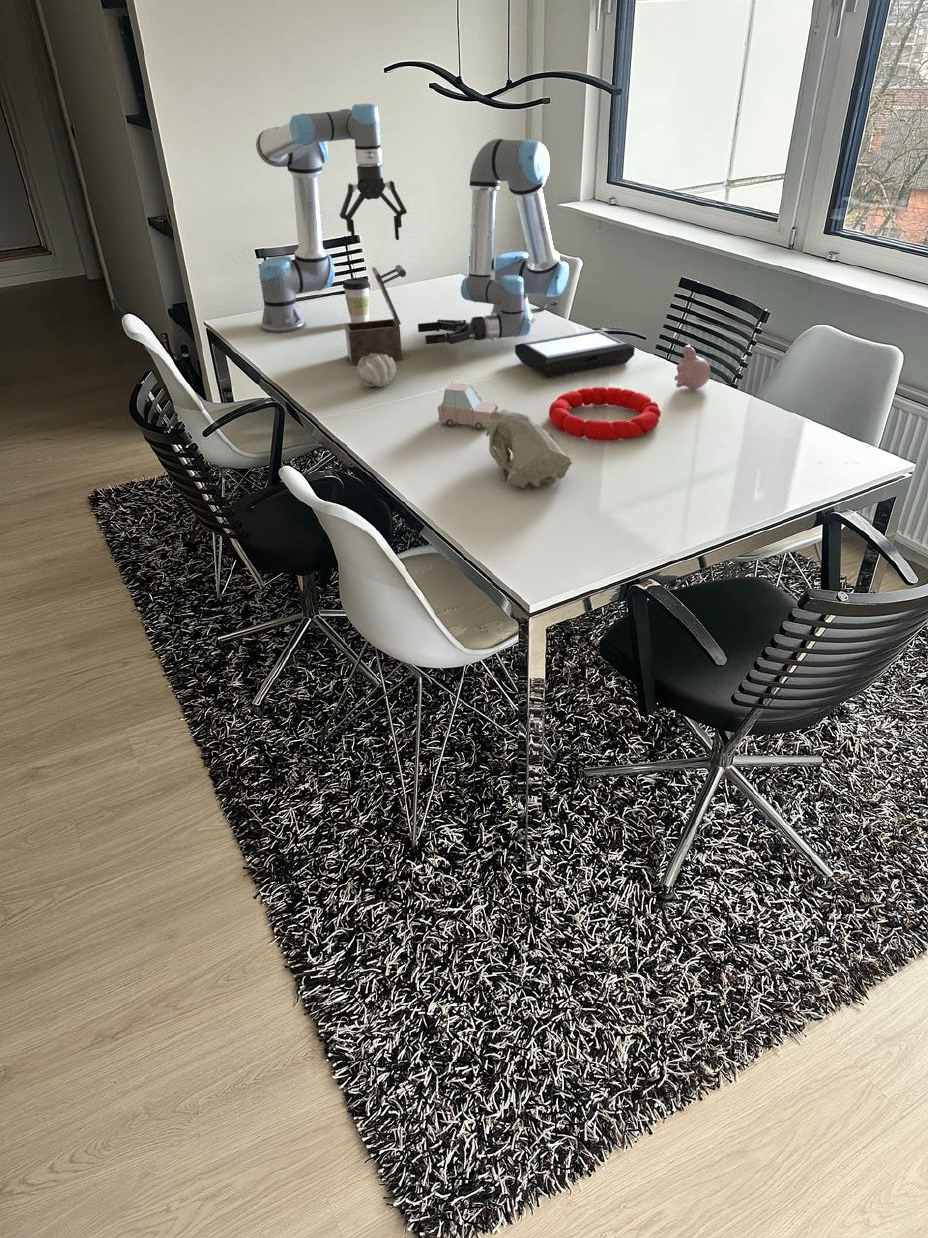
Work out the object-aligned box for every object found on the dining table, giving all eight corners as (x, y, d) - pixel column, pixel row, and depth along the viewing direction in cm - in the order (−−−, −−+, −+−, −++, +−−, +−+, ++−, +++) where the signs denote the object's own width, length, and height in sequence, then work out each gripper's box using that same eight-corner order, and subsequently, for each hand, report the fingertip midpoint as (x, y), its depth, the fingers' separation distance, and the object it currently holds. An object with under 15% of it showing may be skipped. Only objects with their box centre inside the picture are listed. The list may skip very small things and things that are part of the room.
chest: (352, 365, 289) (348, 331, 283) (348, 356, 297) (344, 323, 291) (402, 359, 292) (399, 326, 286) (396, 350, 300) (394, 318, 294)
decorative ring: (589, 435, 224) (684, 402, 234) (527, 398, 247) (617, 369, 256) (589, 461, 229) (683, 427, 238) (529, 422, 251) (617, 393, 260)
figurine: (665, 387, 264) (669, 347, 257) (693, 380, 268) (698, 340, 261) (686, 396, 257) (690, 355, 250) (714, 388, 262) (720, 348, 255)
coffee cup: (372, 326, 323) (368, 283, 314) (345, 327, 323) (340, 284, 315) (374, 318, 331) (371, 276, 322) (348, 319, 331) (344, 277, 323)
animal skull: (496, 517, 219) (521, 479, 201) (463, 429, 225) (484, 384, 207) (557, 503, 225) (586, 465, 206) (523, 417, 231) (549, 373, 212)
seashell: (349, 385, 273) (346, 353, 267) (393, 376, 278) (391, 344, 273) (363, 395, 265) (359, 362, 260) (408, 385, 271) (405, 353, 265)
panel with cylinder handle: (376, 274, 275) (402, 262, 275) (371, 267, 283) (396, 255, 283) (398, 325, 286) (423, 313, 285) (393, 317, 293) (417, 305, 293)
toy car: (488, 432, 240) (488, 396, 234) (436, 426, 244) (434, 390, 239) (499, 419, 247) (499, 384, 241) (448, 413, 252) (447, 379, 246)
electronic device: (544, 360, 268) (515, 342, 283) (544, 380, 271) (514, 361, 286) (634, 344, 278) (601, 327, 293) (633, 363, 282) (600, 346, 297)
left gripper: (328, 168, 257) (336, 246, 269) (413, 163, 262) (417, 239, 274) (325, 165, 263) (333, 241, 275) (408, 159, 268) (412, 235, 280)
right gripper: (493, 350, 289) (429, 356, 286) (475, 328, 310) (415, 334, 306) (493, 327, 285) (428, 333, 282) (475, 306, 305) (414, 312, 302)
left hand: (375, 240), depth 274 cm, fingers open, 13 cm apart
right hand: (421, 333), depth 294 cm, fingers open, 13 cm apart
